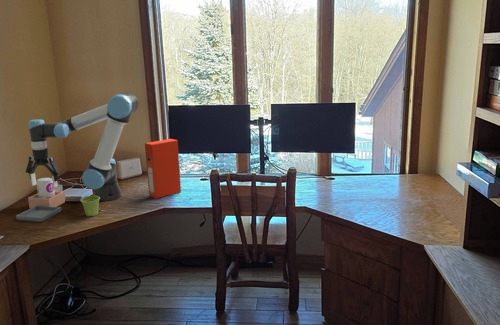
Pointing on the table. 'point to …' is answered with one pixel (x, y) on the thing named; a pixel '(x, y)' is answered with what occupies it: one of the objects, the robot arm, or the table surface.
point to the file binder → (163, 168)
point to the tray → (38, 213)
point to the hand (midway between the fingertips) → (44, 185)
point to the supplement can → (45, 188)
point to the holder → (47, 200)
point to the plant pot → (90, 205)
